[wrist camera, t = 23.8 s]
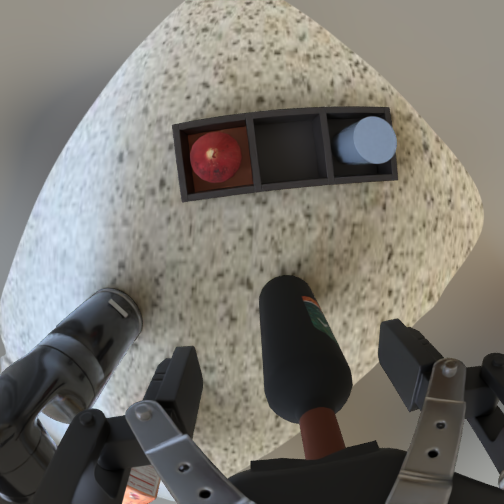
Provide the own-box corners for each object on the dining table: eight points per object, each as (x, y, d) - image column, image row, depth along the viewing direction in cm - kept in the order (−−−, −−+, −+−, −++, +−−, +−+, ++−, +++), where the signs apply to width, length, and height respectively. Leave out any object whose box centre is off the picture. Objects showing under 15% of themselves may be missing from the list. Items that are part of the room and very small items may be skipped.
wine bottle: (265, 270, 41) (292, 461, 11) (318, 280, 41) (418, 453, 12) (253, 319, 42) (258, 518, 13) (304, 328, 43) (362, 513, 14)
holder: (190, 199, 38) (181, 202, 33) (181, 130, 36) (171, 124, 31) (381, 179, 38) (398, 180, 33) (374, 114, 35) (389, 107, 30)
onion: (244, 179, 37) (243, 180, 29) (199, 184, 37) (185, 187, 29) (240, 133, 35) (237, 122, 28) (194, 139, 36) (179, 130, 28)
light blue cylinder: (333, 166, 37) (356, 164, 28) (328, 128, 35) (350, 116, 27) (368, 164, 36) (399, 163, 28) (364, 127, 35) (393, 116, 27)
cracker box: (151, 438, 49) (125, 519, 29) (125, 423, 48) (91, 503, 28) (182, 403, 47) (157, 501, 26) (152, 386, 46) (114, 481, 25)
